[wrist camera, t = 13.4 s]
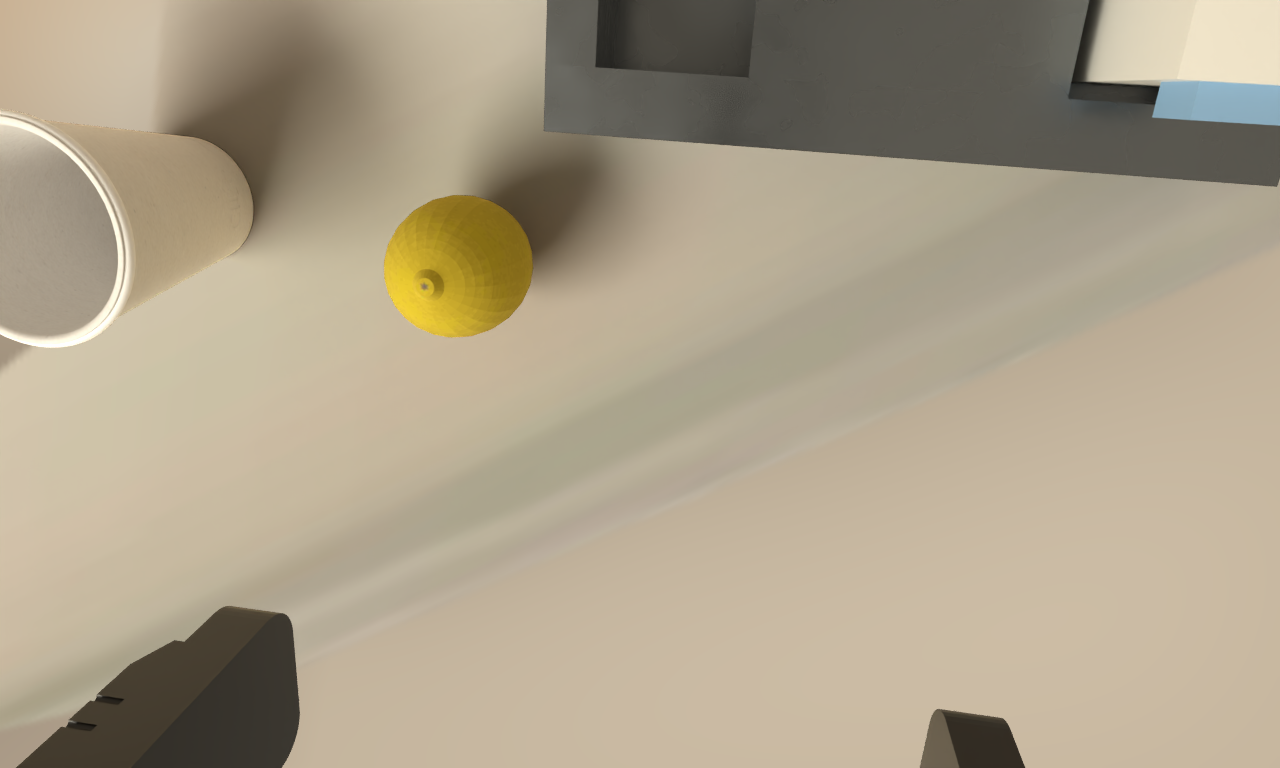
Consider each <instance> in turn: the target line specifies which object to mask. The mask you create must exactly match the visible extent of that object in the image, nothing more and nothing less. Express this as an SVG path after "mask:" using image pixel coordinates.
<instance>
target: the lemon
mask: <svg viewBox="0 0 1280 768" xmlns="http://www.w3.org/2000/svg"><path fill="white" fill-rule="evenodd" d="M532 271H533V261H532V250H531V247H530V244H529V241H528V238H527V235H526V234H525V232H524V231H523V229H522V227H521V226H520V224H519V223H518V221H517V220H516V219H515V218H514V217H513V216H512V215H511V214H510V213H509V212H508V211H506V210H505V209H503V208H502V207H500V206H498V205H497V204H495V203H493V202H492V201H489V200H485V199H482V198H479V197H476V196H463V195H452V196H448V197H444V198H439V199H435V200H432V201H430V202H428V203H427V204H425V205H423V206H421V207H419V208H418V209H416V210H414V211H413V212H412V213H411V214H410V215H409V216H408V217H407V218H406V219H405V220H404V221H403V222H402V223H401V224H400V225H399V226H398V228H397V229H396V231H395V233H394V235H393V237H392V239H391V240H390V242H389V244H388V247H387V252H386V256H385V260H384V278H385V282H386V286H387V290H388V293H389V295H390V297H391V299H392V301H393V303H394V305H395V306H396V308H397V309H398V310H399V311H400V312H401V314H402V315H403V316H404V317H405V318H406V319H407V320H409V321H410V322H411V323H412V324H414V325H415V326H416V327H418V328H420V329H422V330H425V331H427V332H429V333H431V334H434V335H440V336H445V337H466V336H473V335H476V334H479V333H482V332H485V331H488V330H491V329H493V328H494V327H496V326H497V325H499V324H500V323H502V322H503V321H505V320H506V319H508V318H509V317H510V316H511V315H512V314H513V312H514V311H515V310H516V309H517V308H518V307H519V305H520V304H521V303H522V301H523V299H524V297H525V295H526V293H527V291H528V288H529V286H530V283H531V277H532Z"/></svg>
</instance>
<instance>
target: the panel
mask: <svg viewBox="0 0 1280 768" xmlns="http://www.w3.org/2000/svg"><path fill="white" fill-rule="evenodd" d="M1088 4H1089V0H547V27H546V67H545V106H544V131H547V132H560V133H574V134H587V135H600V136H613V137H627V138H640V139H653V140H666V141H680V142H693V143H706V144H719V145H733V146H746V147H759V148H772V149H786V150H799V151H812V152H825V153H839V154H852V155H865V156H878V157H891V158H905V159H918V160H931V161H944V162H958V163H971V164H984V165H997V166H1011V167H1024V168H1037V169H1050V170H1064V171H1077V172H1090V173H1103V174H1117V175H1130V176H1143V177H1156V178H1170V179H1183V180H1196V181H1209V182H1223V183H1236V184H1249V185H1262V186H1276V187H1277V185H1278V182H1279V179H1280V126H1278V125H1262V124H1246V123H1229V122H1213V121H1197V120H1182V119H1168V118H1153V117H1152V116H1153V112H1154V108H1155V104H1156V100H1157V96H1158V92H1159V88H1143V87H1126V86H1109V85H1092V84H1075V83H1071V81H1072V77H1073V72H1074V68H1075V63H1076V59H1077V54H1078V50H1079V45H1080V40H1081V36H1082V31H1083V27H1084V22H1085V18H1086V13H1087V9H1088Z"/></svg>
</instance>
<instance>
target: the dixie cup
mask: <svg viewBox="0 0 1280 768" xmlns="http://www.w3.org/2000/svg"><path fill="white" fill-rule="evenodd" d="M252 222H253V200H252V195H251V191H250V188H249V185H248V183H247V180H246V178H245V176H244V174H243V173H242V171H241V170H240V168H239V167H238V165H237V164H236V163H235V162H234V160H233V159H232V158H231V157H230V156H229V155H228V154H227V153H225V152H224V151H223V150H222V149H220V148H219V147H217V146H216V145H214V144H212V143H210V142H208V141H205V140H203V139H199V138H195V137H188V136H179V135H170V134H161V133H152V132H143V131H135V130H126V129H116V128H108V127H98V126H89V125H81V124H72V123H63V122H55V121H46V120H41V119H39V118H37V117H34V116H31V115H28V114H25V113H22V112H17V111H12V110H5V109H0V334H1V335H3V336H5V337H8V338H10V339H13V340H15V341H18V342H22V343H25V344H29V345H33V346H40V347H66V346H72V345H76V344H80V343H83V342H85V341H88V340H90V339H92V338H94V337H96V336H97V335H99V334H100V333H102V332H103V331H104V330H106V329H107V328H108V327H109V326H110V325H111V324H112V323H113V322H114V321H115V320H116V319H117V318H118V317H119V316H121V315H123V314H125V313H127V312H128V311H130V310H132V309H134V308H136V307H137V306H139V305H141V304H143V303H145V302H146V301H148V300H150V299H152V298H154V297H155V296H157V295H159V294H161V293H163V292H164V291H166V290H168V289H170V288H172V287H173V286H175V285H177V284H179V283H181V282H182V281H184V280H186V279H188V278H190V277H191V276H193V275H195V274H197V273H199V272H200V271H202V270H204V269H206V268H208V267H209V266H211V265H213V264H215V263H217V262H218V261H220V260H222V259H224V258H226V257H227V256H229V255H231V254H232V253H234V252H235V251H236V250H238V249H239V248H240V247H241V246H242V244H243V243H244V242H245V240H246V238H247V237H248V235H249V232H250V230H251V226H252Z"/></svg>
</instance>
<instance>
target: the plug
mask: <svg viewBox="0 0 1280 768" xmlns="http://www.w3.org/2000/svg"><path fill="white" fill-rule="evenodd" d="M1071 83H1075V84H1092V85H1109V86H1126V87H1143V88H1159V92H1158V96H1157V100H1156V104H1155V108H1154V112H1153V116H1152V117H1153V118H1168V119H1182V120H1197V121H1213V122H1229V123H1246V124H1262V125H1278V126H1280V0H1089V4H1088V9H1087V13H1086V18H1085V22H1084V27H1083V31H1082V36H1081V40H1080V45H1079V50H1078V54H1077V59H1076V63H1075V68H1074V72H1073V77H1072V81H1071Z"/></svg>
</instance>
